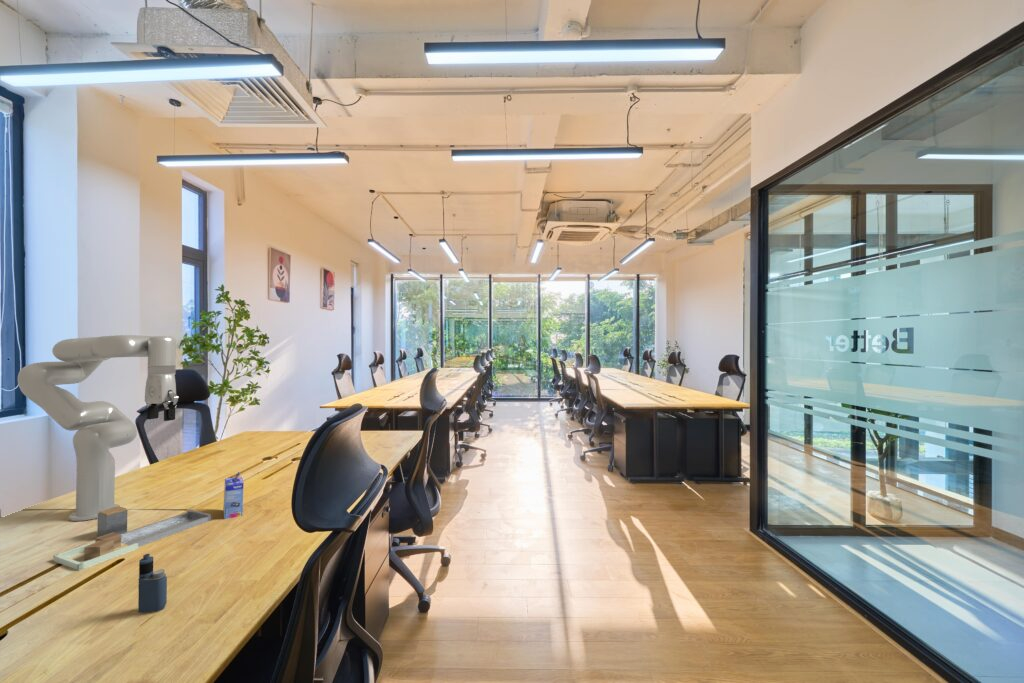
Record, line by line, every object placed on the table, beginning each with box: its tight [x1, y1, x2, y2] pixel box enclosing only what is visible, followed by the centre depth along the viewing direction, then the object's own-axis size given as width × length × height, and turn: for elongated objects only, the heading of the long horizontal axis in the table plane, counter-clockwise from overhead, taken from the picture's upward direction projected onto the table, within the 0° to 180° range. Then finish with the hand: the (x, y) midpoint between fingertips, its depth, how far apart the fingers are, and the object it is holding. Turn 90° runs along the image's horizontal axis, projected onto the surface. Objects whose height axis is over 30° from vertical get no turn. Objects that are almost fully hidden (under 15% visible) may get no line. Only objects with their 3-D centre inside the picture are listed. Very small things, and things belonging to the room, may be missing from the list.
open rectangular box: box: [121, 509, 212, 548], centre depth 128 cm, size 11×20×3 cm, turn 158°
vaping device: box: [137, 553, 168, 614], centre depth 90 cm, size 3×5×12 cm, turn 95°
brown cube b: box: [83, 540, 115, 561], centre depth 112 cm, size 4×4×4 cm
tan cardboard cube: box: [94, 532, 122, 550], centre depth 116 cm, size 4×4×4 cm
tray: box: [52, 541, 139, 571], centre depth 113 cm, size 13×12×2 cm
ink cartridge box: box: [222, 471, 245, 520], centre depth 142 cm, size 10×6×14 cm, turn 37°
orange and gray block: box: [96, 506, 128, 538], centre depth 125 cm, size 5×5×8 cm
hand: (161, 419), depth 143 cm, fingers open, 9 cm apart
